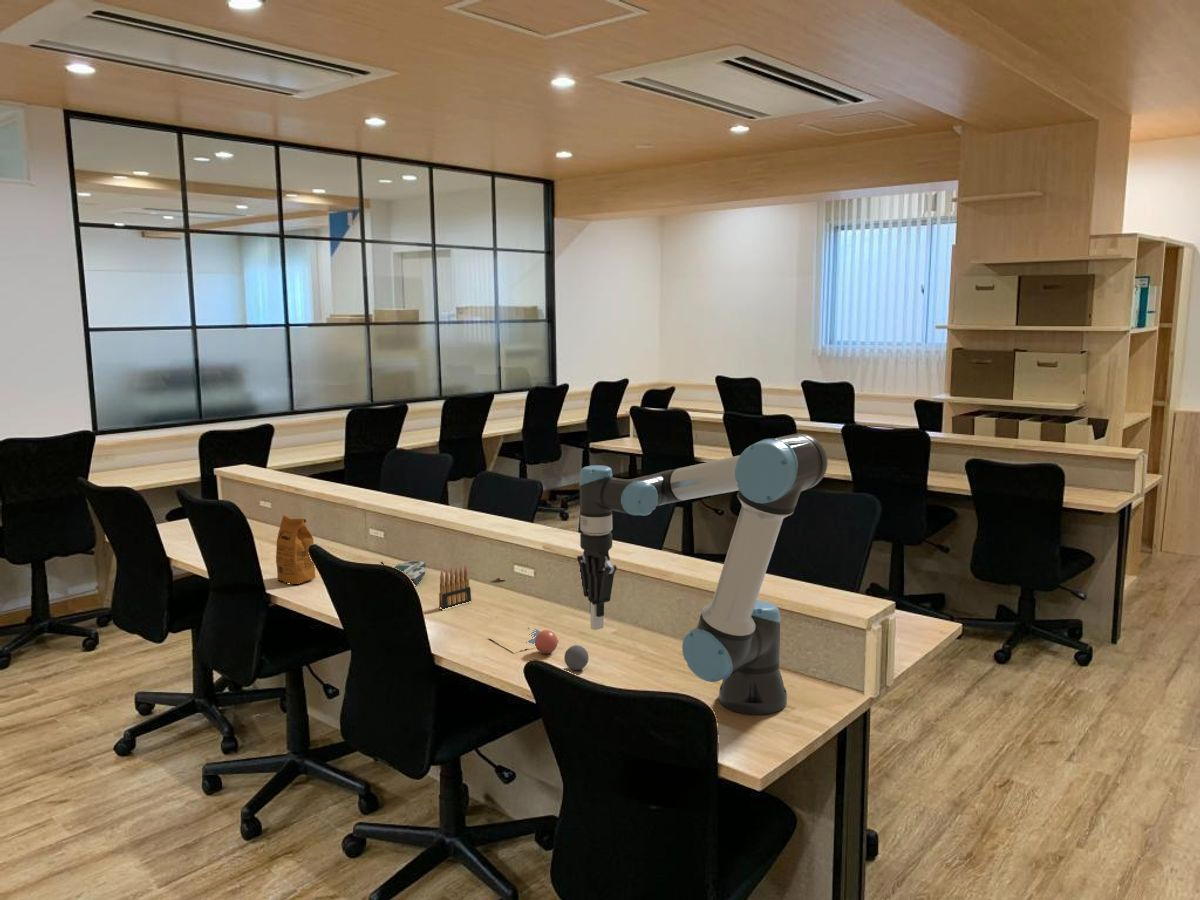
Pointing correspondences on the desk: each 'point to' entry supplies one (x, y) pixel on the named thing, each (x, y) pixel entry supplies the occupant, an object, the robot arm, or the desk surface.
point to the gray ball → (576, 657)
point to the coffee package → (294, 552)
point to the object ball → (546, 641)
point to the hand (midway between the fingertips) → (597, 628)
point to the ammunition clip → (454, 588)
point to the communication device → (412, 570)
